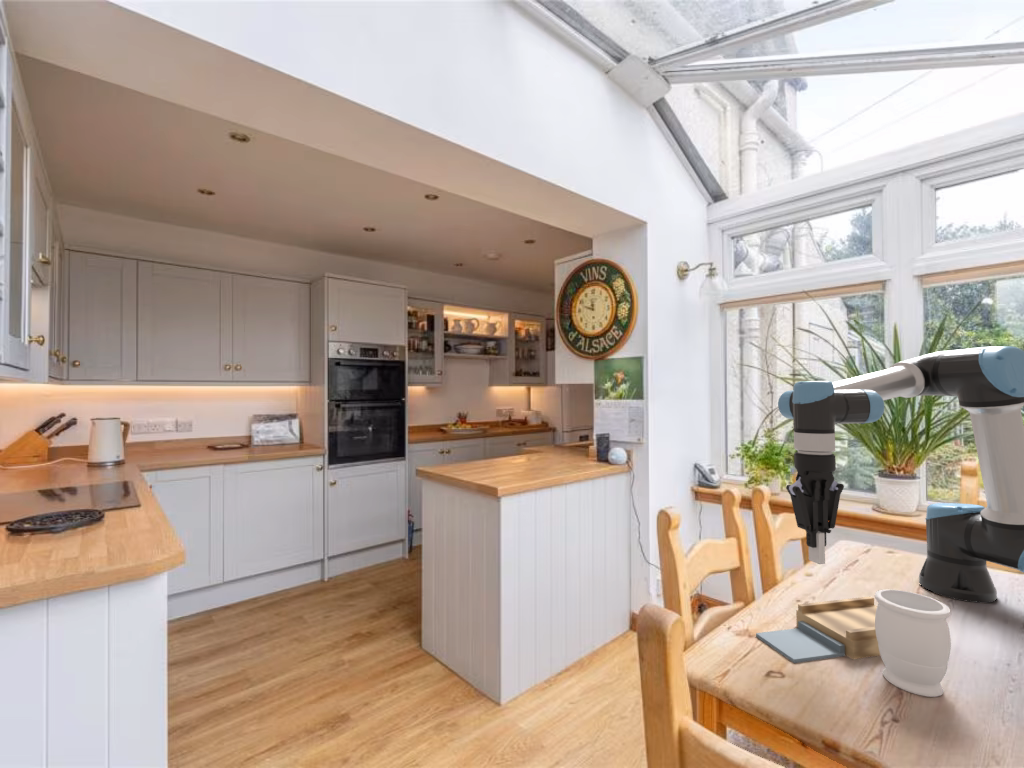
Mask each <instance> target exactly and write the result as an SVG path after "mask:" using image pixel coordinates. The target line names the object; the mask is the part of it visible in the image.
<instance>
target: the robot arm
mask: <svg viewBox="0 0 1024 768" xmlns="http://www.w3.org/2000/svg"><path fill="white" fill-rule="evenodd" d="M919 396H921V397H923V396H937V397H938V396H939V397H940V396H941V397H942V396H943V397H945V396H946V397H957V399H958V404H959V407H960V408H962V409H964V410H966V411H967V412H968V413H969V416H970V422H971V426H972V432H973V437H974V442H975V443H974V444H975V447H976V452H977V458H978V463H979V469H980V474H981V478H982V479H981V480H982V483H983V489H984V495H985V500H986V507H985V506H983V505H979V504H974V503H973V504H972V503H955V502H951V503H950V502H948V503H947V502H944V503H943V502H940V503H939V502H937V503H932V504H929V505H928V506H927V507H926V515H925V518H924V519H925V524H926V525H925V526H926V528H925V529H926V530H925V531H926V559H925V561H924V562H923V565H922V567H921V569H920V572H919V575H918V583H920V584H921V585H922V586H923V587H925V588H926V589H925V588H924V589H925V590H927V589H928V590H927V591H929V590H931V591H933V592H932V593H934V592H935V594H936V593H937V595H939V594H940V596H943V597H946V598H950V599H954V598H955V599H954V600H958V599H960V601H964V600H967V601H966V602H970V601H977V602H976V603H980V602H989V603H994V602H996V601H997V600H996V599H998V595H997V594H998V592H997V588H996V587H995V585H994V582H993V579H992V576H991V574H990V572H989V570H988V567H987V562H989V563H993V564H996V565H1000V566H1003V567H1006V568H1010V569H1013V570H1016V571H1019V572H1021V573H1023V574H1024V419H1023V415H1022V408H1023V407H1024V350H1023V349H1021V348H1019V347H1016V346H1013V345H1012V346H1009V345H1007V346H1006V345H1005V346H1002V345H1001V346H995V345H991V346H989V345H988V346H981V347H971V348H969V347H968V348H960V349H949V350H940V351H935V352H931V353H927V354H923V355H919V356H915V357H913V358H912V357H911V358H909V359H905V360H902V361H897V362H895V363H893V364H891V365H890V367H889V368H887V369H883V370H878V371H874V372H870V373H865V374H862V375H858V376H854V377H851V378H850V377H849V378H846V379H841V380H838V381H830V380H807V381H804V380H803V381H797V382H796V383H794V385H793V388H792V390H786V391H784V392H783V393H782V394H781V395H779V398H778V401H777V406H778V411H779V413H780V415H782V417H784V418H786V419H788V420H793V449H794V450H796V451H795V453H794V455H793V458H794V459H793V460H794V462H793V463H794V468H795V470H796V471H797V474H796V477H795V481H794V483H792V484H787V485H786V486H785V488H786V491H787V492H788V494H789V496H790V500H791V505H792V508H793V513H794V519H795V521H796V525H797V528H799V529H801V530H804V531H805V534H806V536H805V538H806V546H807V548H808V560H809V561H810V562H812V563H815V564H817V565H825V564H826V549H825V548H826V547H827V534H831V533H832V529H835V528H836V522H837V516H838V510H839V506H840V498H841V494H842V492H843V490H844V487H845V485H844V483H841V482H840V483H839V482H838V481H836V480H835V476H834V475H833V473H834V472H835V471H836V469H837V468H836V455H835V454H834V452H835V451H836V431H835V428H836V425H838V424H840V425H841V424H842V425H843V424H845V425H846V424H847V425H849V424H858V425H859V424H861V425H864V424H871V423H874V422H877V421H878V420H880V419H881V418H882V416H883V415H884V412H885V402H884V401H886V400H887V401H888V400H890V399H895V398H898V397H901V398H904V399H905V398H906V399H907V398H908V399H910V398H916V397H919ZM920 584H919V585H920ZM921 585H920V586H921ZM922 586H921V587H922ZM923 587H922V588H923ZM931 591H930V592H931ZM995 600H996V601H995ZM993 601H994V602H993Z"/></svg>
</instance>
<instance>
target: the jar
mask: <svg viewBox="0 0 1024 768" xmlns="http://www.w3.org/2000/svg"><path fill="white" fill-rule="evenodd" d="M874 600H876V602H878V604H877V605H876V606H877V609H876V615H875V631H876V637H877V641H878V647H879V652H880V655H881V656H880V658H881V661H882V662H883V664H884V666H885V667H884V668H883V670H882V675H883V677H884V678H885V679H886V680H887V681H888V682H889V683H890V684H892V685H893V686H895V687H897V688H899V689H900V690H903V691H906V692H908V693H911V694H914V695H917V696H921V697H927V698H928V697H931V698H934V697H936V698H937V697H940V696H942V695H943V694H944V692H945V691H944V688H943V685H942V684H941V682H942V681H943V680H944V678H945V676H946V674H947V671H948V665H949V661H950V657H951V650H952V645H951V644H952V643H951V641H952V639H951V633H950V627H949V624H948V621H947V618H949V617H950V615H951V608H950V607H949V606H948V605H947V604H945V603H944V602H942V601H940V600H937V599H935V598H932V597H931V596H927V595H924V594H921V593H916V592H913V591H908V590H899V589H893V588H892V589H889V588H888V589H886V588H884V589H880V590H879V589H878V590H876V591H875V592H874Z"/></svg>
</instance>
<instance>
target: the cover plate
mask: <svg viewBox="0 0 1024 768" xmlns="http://www.w3.org/2000/svg"><path fill="white" fill-rule="evenodd" d="M755 637H756V638H757V639H758V640H760V641H762V642H763V643H764V644H766V645H767V646H769V647H770V648H772V649H774V650H775V651H776V652H778V653H779V654H780V655H782V656H783V657H785V658H786V659H787V660H789V661H790V662H791V663H793V664H797V663H806V662H811V661H817V660H818V661H820V660H824V659H827V660H828V659H835V658H839V657H840V658H841V657H846V655H845V645H844V644H842V643H840V642H839V641H837V640H835V639H833V638H832V637H830V636H828V635H826V634H825V633H823V632H821V631H820V630H818V629H816V628H814V627H813V626H811V625H809V624H807V623H806V622H804V621H798V626H797V627H795V628H788V629H781V630H772V631H771V630H770V631H763V632H756V633H755Z"/></svg>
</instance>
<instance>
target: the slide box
mask: <svg viewBox="0 0 1024 768" xmlns="http://www.w3.org/2000/svg"><path fill="white" fill-rule="evenodd" d="M877 606H878V605H876V604H875V597H873V596H861V597H852V598H844V599H843V598H842V599H834V600H824V601H817V602H816V601H815V602H808V603H800V604H797V609H796V610H795V611H796V622H795V623H796V627H798V621H804V622H806V623H807V624H809V625H811V626H813V627H814V628H816V629H818V630H820V631H821V632H823V633H825V634H826V635H828V636H830V637H832V638H833V639H835V640H837V641H839V642H840V643H842V644H844V645H845V657H846V656H847V657H848V658H850V659H851V660H858V659H860V660H861V659H864V658H865V659H866V658H873V657H874V658H875V657H879V656H880V657H881V655H880V652H879V647H878V641H877V637H876V631H875V615H876V609H877Z"/></svg>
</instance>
